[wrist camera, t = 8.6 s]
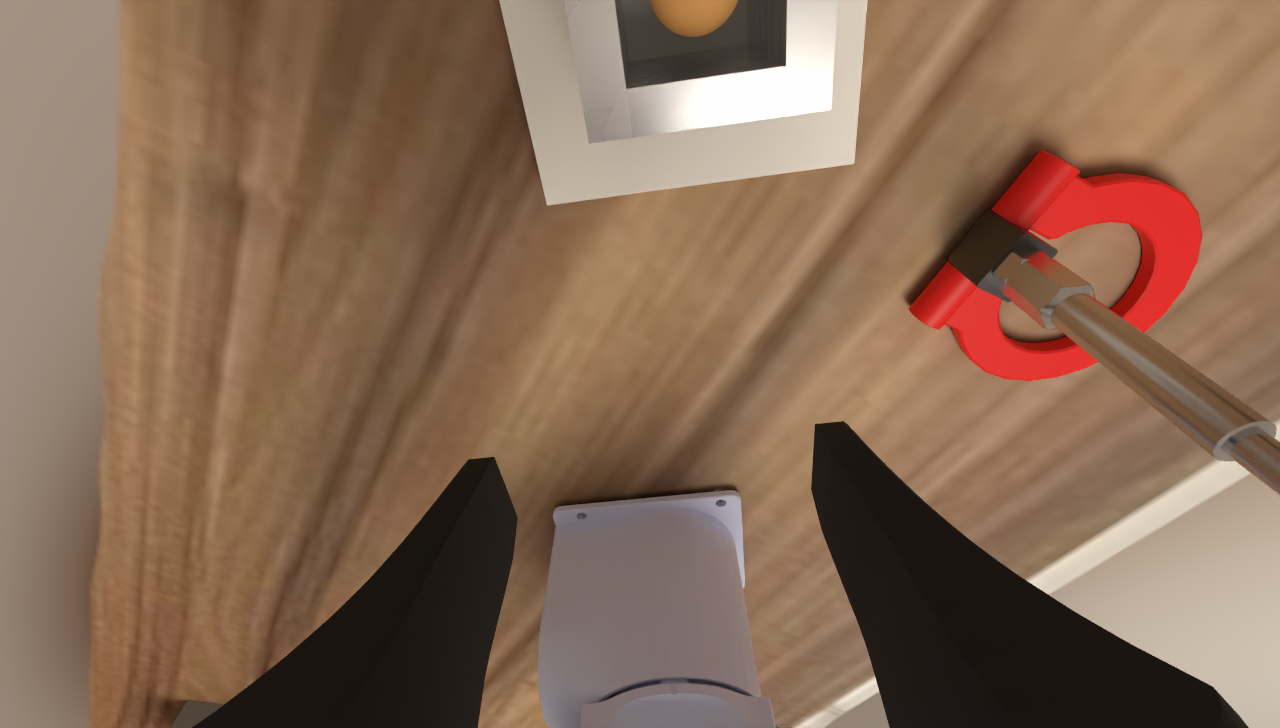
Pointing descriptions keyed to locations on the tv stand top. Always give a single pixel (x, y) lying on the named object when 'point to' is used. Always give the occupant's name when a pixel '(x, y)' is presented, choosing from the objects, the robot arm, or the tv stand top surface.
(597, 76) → the hollow square tube
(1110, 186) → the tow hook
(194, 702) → the dice cube
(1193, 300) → the tv stand top surface
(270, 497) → the tv stand top surface
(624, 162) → the plate
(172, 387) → the tv stand top surface
